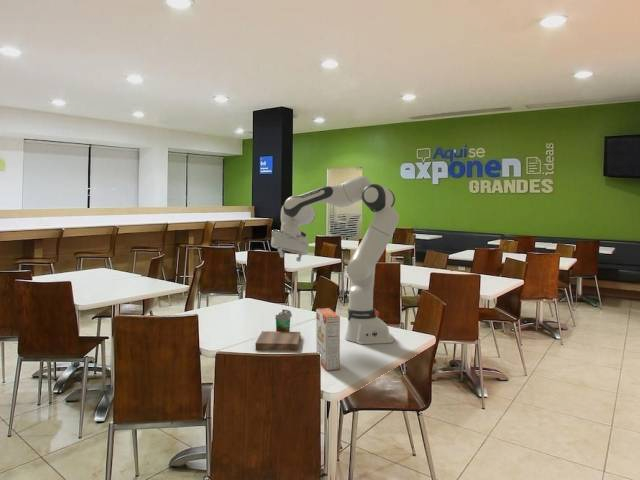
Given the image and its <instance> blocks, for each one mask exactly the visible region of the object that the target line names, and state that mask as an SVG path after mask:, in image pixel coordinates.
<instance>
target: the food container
mask: <svg viewBox="0 0 640 480" xmlns="http://www.w3.org/2000/svg"><path fill="white" fill-rule="evenodd" d="M292 317H293V314H292V312H291V311H290V310H289V309H283V308H282V310H281V312H279V313H278V314H275V329H276V331H275V332H290V327H291V318H292Z"/></svg>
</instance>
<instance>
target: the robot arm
mask: <svg viewBox="0 0 640 480" xmlns="http://www.w3.org/2000/svg"><path fill="white" fill-rule="evenodd" d="M360 201H363V203H364V205H366V206H367V208H368V209H369V210H370V211H371V212H372V213H374V217H373V219H372V221H371V222H370V224H369V226H368V228H367V230H366V232H365V234H364V236H363V238H362V239H361V241H360V243H359V245H358V247H357V248H355V249H356V250H355V251H354V253H353V254H352V256H351V258H350V260H349V261H348V263H347V266H346V273H347V275H348V277H349V278H350V286H349V292H348V309H347V321H348V322H347V329H346V332H345V337H344V338H345V340H347V341H349V342H353V343H357V344H359V345H376V344H391V343H394V341H395V338H394V335H393V334H391V333H390V328H389V326H388V325H387V323H385V322H384V320H382V319H381V318H379V317H378V316H379V315H380V312H379V311H378V310H377V309H376V308H374V287H375V274H376V265H377V264H378V262H379V260H380V258H381V257H382V255H383V253H384V251H385V250H386V248H387V246H388V244H389V242H390V240H391V239H392V237H393V236H394V233H395V231H396V228H397V226H398V223H399V219H400V214H399V212H398V211H397V210H396V209H395V208H393V207H394V205H395V201H396V197H395V193H394V192H393V191H392V190H391V189H389V188H388V187H386V186H384V185H380V184H377V183H372V182H371V180H370V179H369V178H368V177H366V176H364V175H361V176H356V177H353V178H350V179H347V180H345V181H344V182H342V183H341V182H340V183H337V184H334V185H330V186H329V185H327V186H322V187H319V188H317V189H313V190H311V191H308V192H305V193H302V194H298V195H297V194H296V195H295V194H294V195H291V196H289V197H287V198H286V199H285V201H284V203H283V205H282V206H281V208H280V223H281V225H280V230H278V229H272V230H271V240H270V246H271V248H274V249H277V252H278V254H279V257H280V258H282V259H284V257H285V253H284V252H285V251H286V252H290V253H293V254H297V257H296V262H298V263H299V262H301V261H302V260H301V259H302V256H305V255H307V254H309V252H310V245H309V244H310V243H309V241H308V237H309V236H308V234H307V233H305V232H304V231H303V230H301V229H300V228H299V227H302V226H307V225H308V226H309V225H310V224H312V223H313V222H314V220H315V219H316V210H315V209H314V208H313V207H312V206H313V205H316V204H318V203H325V204H326V203H327V204H330V205H333V206H336V207H339V208H344V207H345V208H346V207H349V206H351V205H353V204H356V203H357V202H360ZM283 251H284V252H283Z"/></svg>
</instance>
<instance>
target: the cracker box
mask: <svg viewBox="0 0 640 480" xmlns="http://www.w3.org/2000/svg"><path fill="white" fill-rule="evenodd" d="M315 311H316V313H315V314H316V315H315V316H316V319H315V321H316V322H315V323H316V325H315V327H316V328H315V329H316V332H315V333H316V334H315V335H316V337H315V339H316V353H317V352H319V353H320V354H321V364H320V365H321V366H322V368H323V369H324V370H325V371H327V372H328V371H337V370H340V369H341V367H340V364H341V363H340V359H341V358H340V357H341V356H340V355H341V351H340V350H341V349H340V348H341V345H340V344H341V343H340V342H341V341H340V340H341V337H340V336H341V334H340V331H341V325H340V324H341V323H340V321H341V318H340V316H339V315H338V314H337V313H336V312H335V311H333V310H332V309H331V308H330V307H326V308H316V310H315Z"/></svg>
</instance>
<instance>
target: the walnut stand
mask: <svg viewBox="0 0 640 480" xmlns="http://www.w3.org/2000/svg"><path fill="white" fill-rule="evenodd" d="M300 342H301V331H289V332H276V331H271V330H270V331H267V330H266V331H265V330H264V331H261V332H260V334H259V336H258V338H257V339H256V342H255V346H254V347H255V351H285V350H287V352H288V350H289V352H291V351H292V352H294V351H296V352H297V351H298V350H299V346H300Z"/></svg>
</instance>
